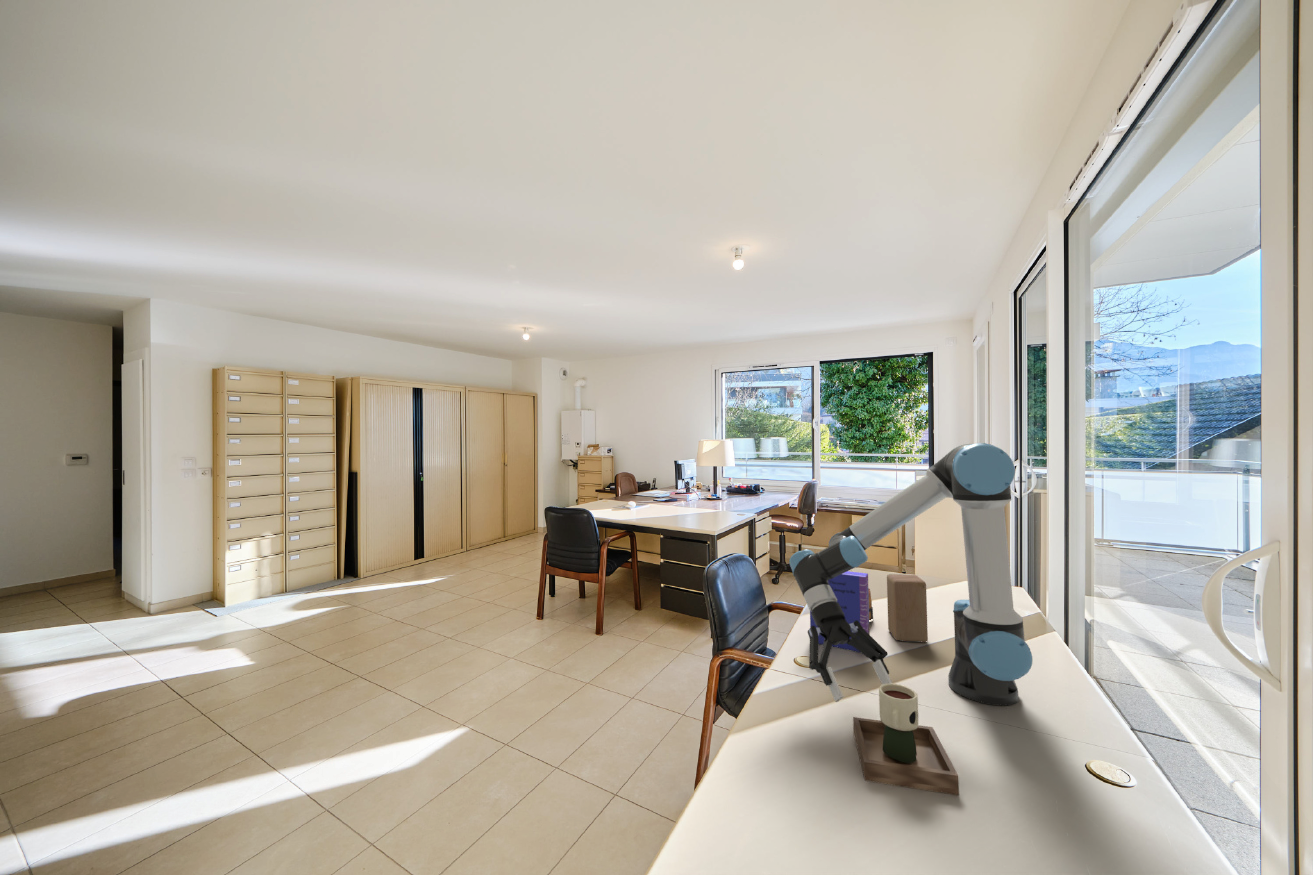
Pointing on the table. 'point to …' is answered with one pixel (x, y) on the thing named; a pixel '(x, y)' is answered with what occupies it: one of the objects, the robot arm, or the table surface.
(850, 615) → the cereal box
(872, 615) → the ammunition clip
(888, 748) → the character mug
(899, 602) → the wooden block
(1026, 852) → the table surface
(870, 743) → the walnut tray
